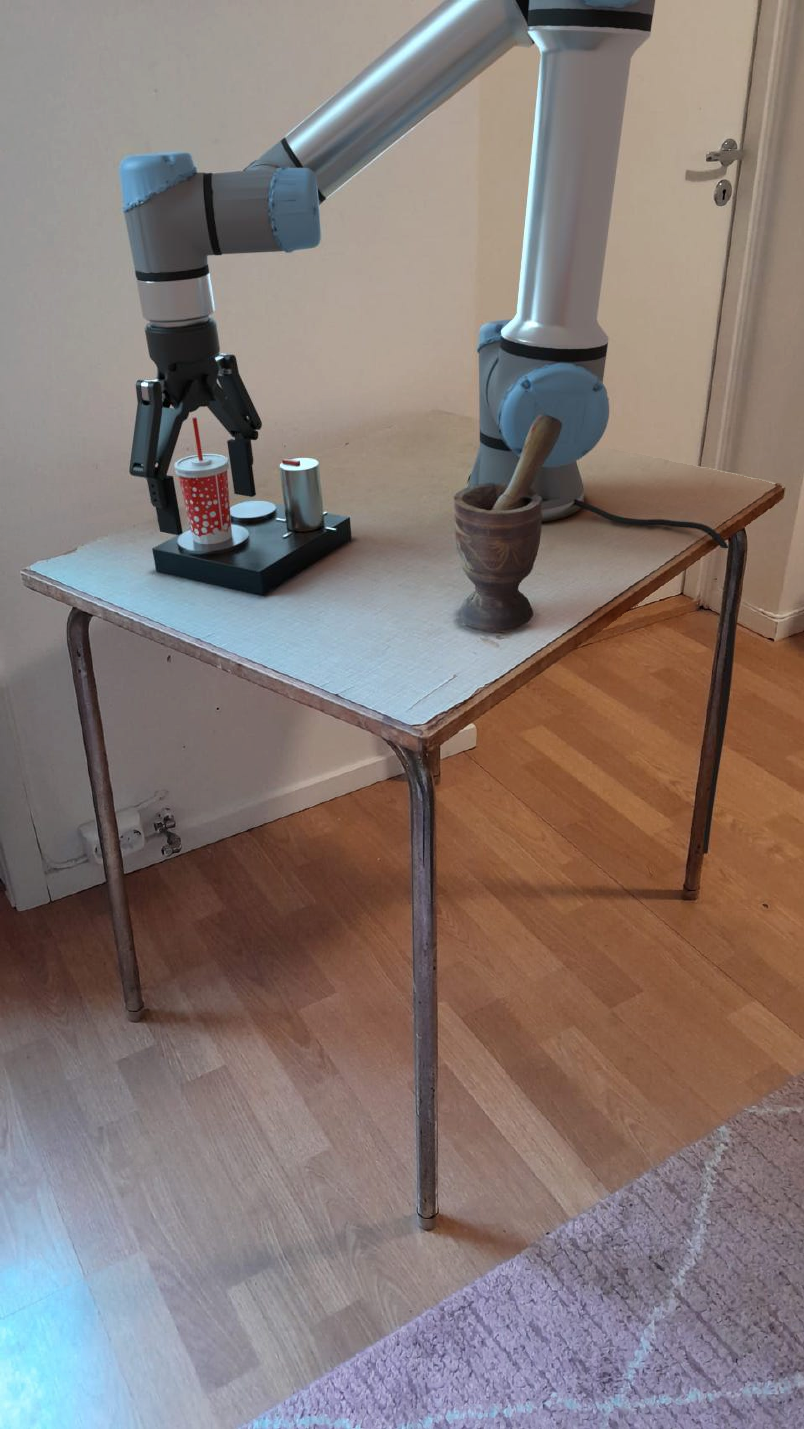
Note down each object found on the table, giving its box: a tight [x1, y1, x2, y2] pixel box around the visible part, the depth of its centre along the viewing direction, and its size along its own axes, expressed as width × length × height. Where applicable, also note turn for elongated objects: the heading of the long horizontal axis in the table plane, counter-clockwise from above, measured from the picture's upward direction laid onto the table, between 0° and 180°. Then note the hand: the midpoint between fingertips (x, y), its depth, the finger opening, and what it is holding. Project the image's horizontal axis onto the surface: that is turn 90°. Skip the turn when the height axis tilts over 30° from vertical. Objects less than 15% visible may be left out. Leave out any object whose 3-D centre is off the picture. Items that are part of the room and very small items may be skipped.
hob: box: [151, 498, 353, 597], centre depth 125 cm, size 17×18×3 cm
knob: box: [279, 457, 325, 532], centre depth 124 cm, size 5×5×8 cm
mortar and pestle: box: [452, 413, 562, 633], centre depth 105 cm, size 12×9×20 cm
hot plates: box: [177, 500, 277, 556], centre depth 126 cm, size 9×16×1 cm, turn 149°
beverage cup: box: [173, 416, 232, 544], centre depth 119 cm, size 6×6×14 cm
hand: (209, 513), depth 121 cm, fingers open, 12 cm apart
